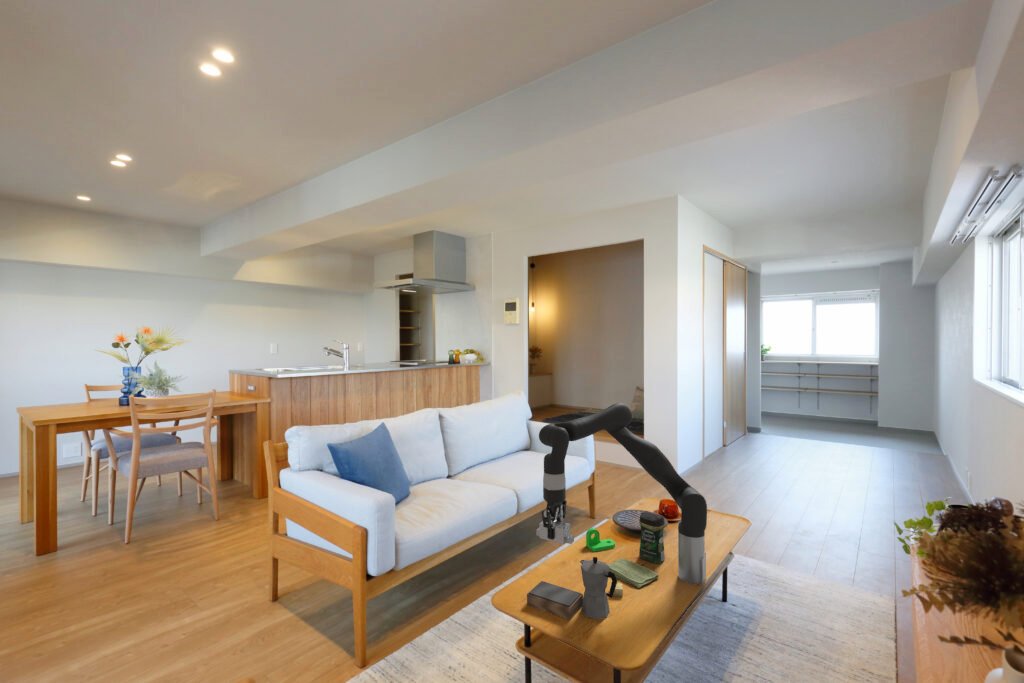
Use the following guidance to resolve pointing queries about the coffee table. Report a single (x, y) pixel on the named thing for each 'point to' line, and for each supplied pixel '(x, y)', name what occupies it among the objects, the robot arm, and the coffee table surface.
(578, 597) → the stand
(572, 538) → the block
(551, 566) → the coffee table surface
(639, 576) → the washcloth
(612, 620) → the coffee table surface
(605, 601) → the coffeepot
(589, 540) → the mechanical part
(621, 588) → the brass block
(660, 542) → the coffee jar
